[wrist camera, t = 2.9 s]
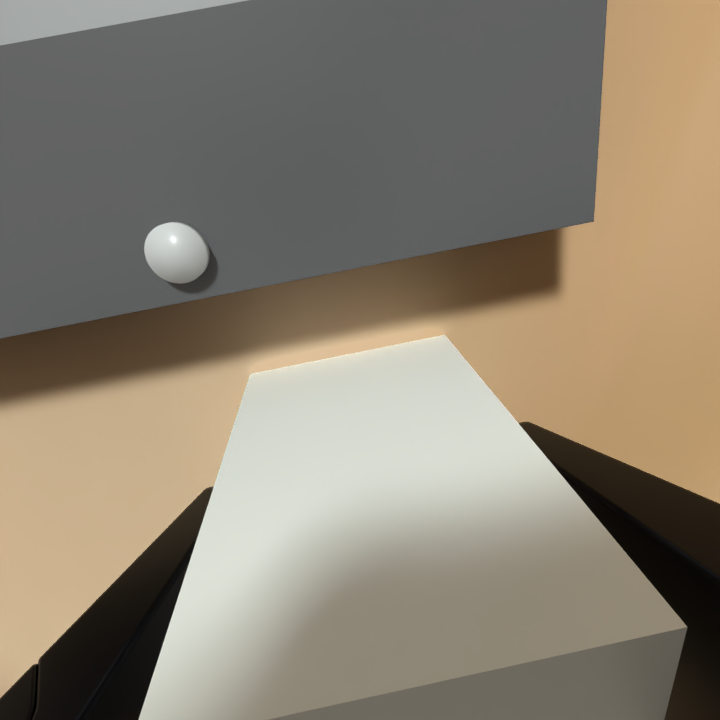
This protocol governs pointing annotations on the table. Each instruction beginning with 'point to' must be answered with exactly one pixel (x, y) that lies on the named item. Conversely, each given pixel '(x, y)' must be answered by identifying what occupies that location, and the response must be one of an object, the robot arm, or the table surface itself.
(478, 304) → the table surface
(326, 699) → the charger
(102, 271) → the outlet plate
